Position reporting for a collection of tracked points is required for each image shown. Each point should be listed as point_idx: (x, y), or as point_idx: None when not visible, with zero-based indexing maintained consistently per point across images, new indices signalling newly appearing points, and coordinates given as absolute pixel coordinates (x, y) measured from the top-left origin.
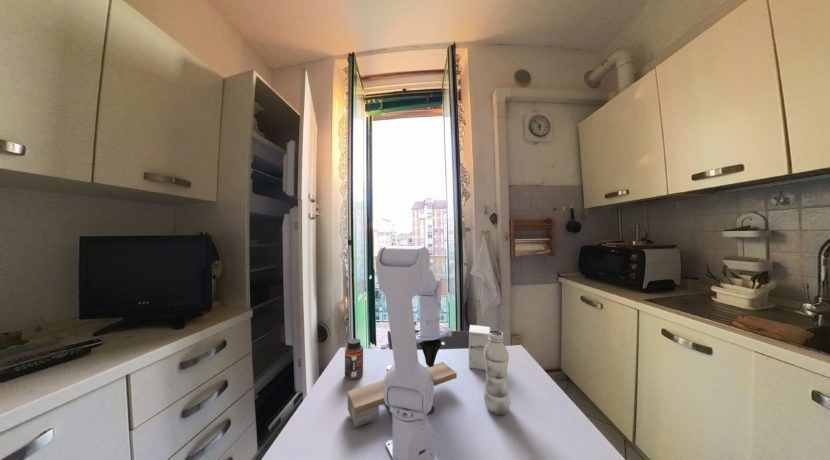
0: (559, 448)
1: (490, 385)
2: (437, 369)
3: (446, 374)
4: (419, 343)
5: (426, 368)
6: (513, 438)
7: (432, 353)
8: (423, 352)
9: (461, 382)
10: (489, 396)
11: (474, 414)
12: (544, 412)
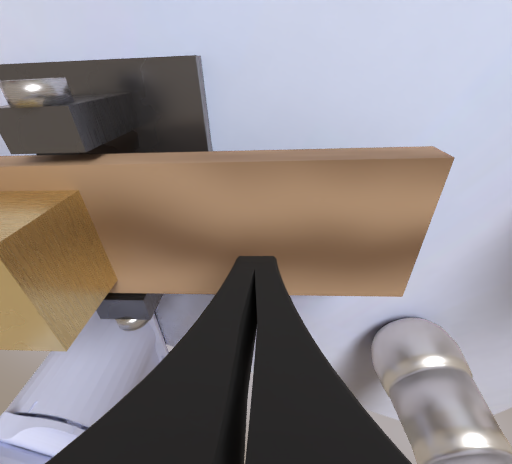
0: (391, 411)
1: (405, 426)
2: (333, 225)
3: (340, 285)
4: (69, 458)
5: (272, 179)
6: (344, 380)
7: (244, 430)
8: (193, 329)
9: (452, 187)
10: (385, 384)
11: (330, 319)
12: (485, 376)
